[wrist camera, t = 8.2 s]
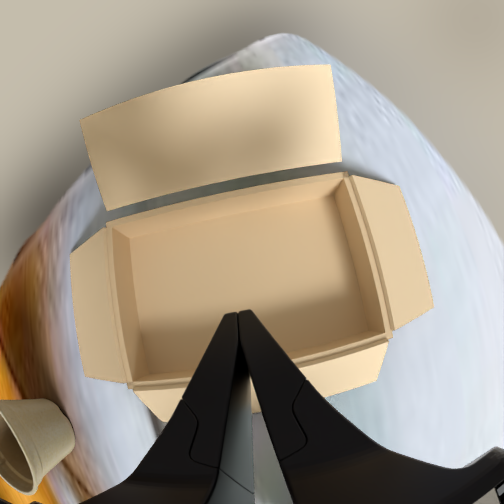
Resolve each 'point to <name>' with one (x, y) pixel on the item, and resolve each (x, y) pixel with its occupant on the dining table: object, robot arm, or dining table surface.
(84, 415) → the dining table surface
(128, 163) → the flap
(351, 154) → the dining table surface
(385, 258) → the carton
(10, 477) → the flower pot
